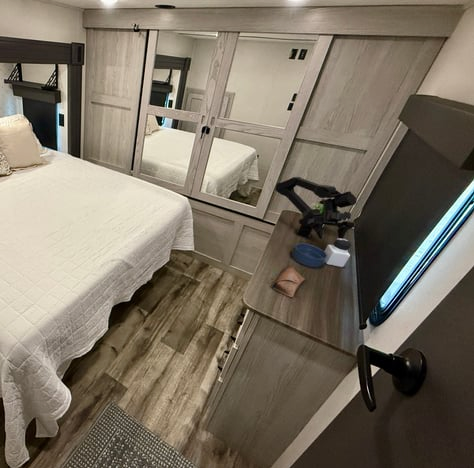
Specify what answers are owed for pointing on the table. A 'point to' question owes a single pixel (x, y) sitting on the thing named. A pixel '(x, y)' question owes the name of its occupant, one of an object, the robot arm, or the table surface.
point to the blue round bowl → (309, 255)
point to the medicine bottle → (338, 253)
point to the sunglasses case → (288, 282)
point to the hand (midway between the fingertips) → (330, 240)
